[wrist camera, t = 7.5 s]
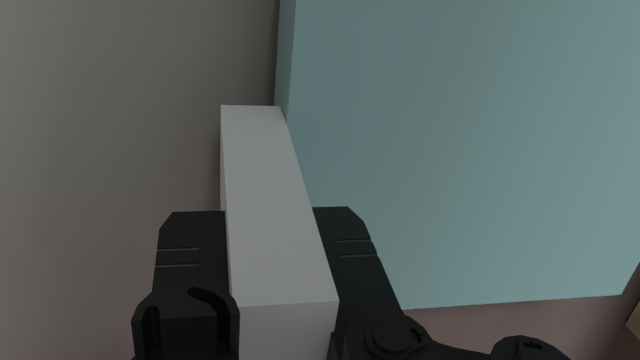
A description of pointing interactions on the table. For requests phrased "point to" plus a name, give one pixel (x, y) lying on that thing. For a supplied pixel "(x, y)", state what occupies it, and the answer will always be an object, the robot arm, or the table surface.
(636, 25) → the teal square tile
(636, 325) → the shelf
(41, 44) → the table surface
